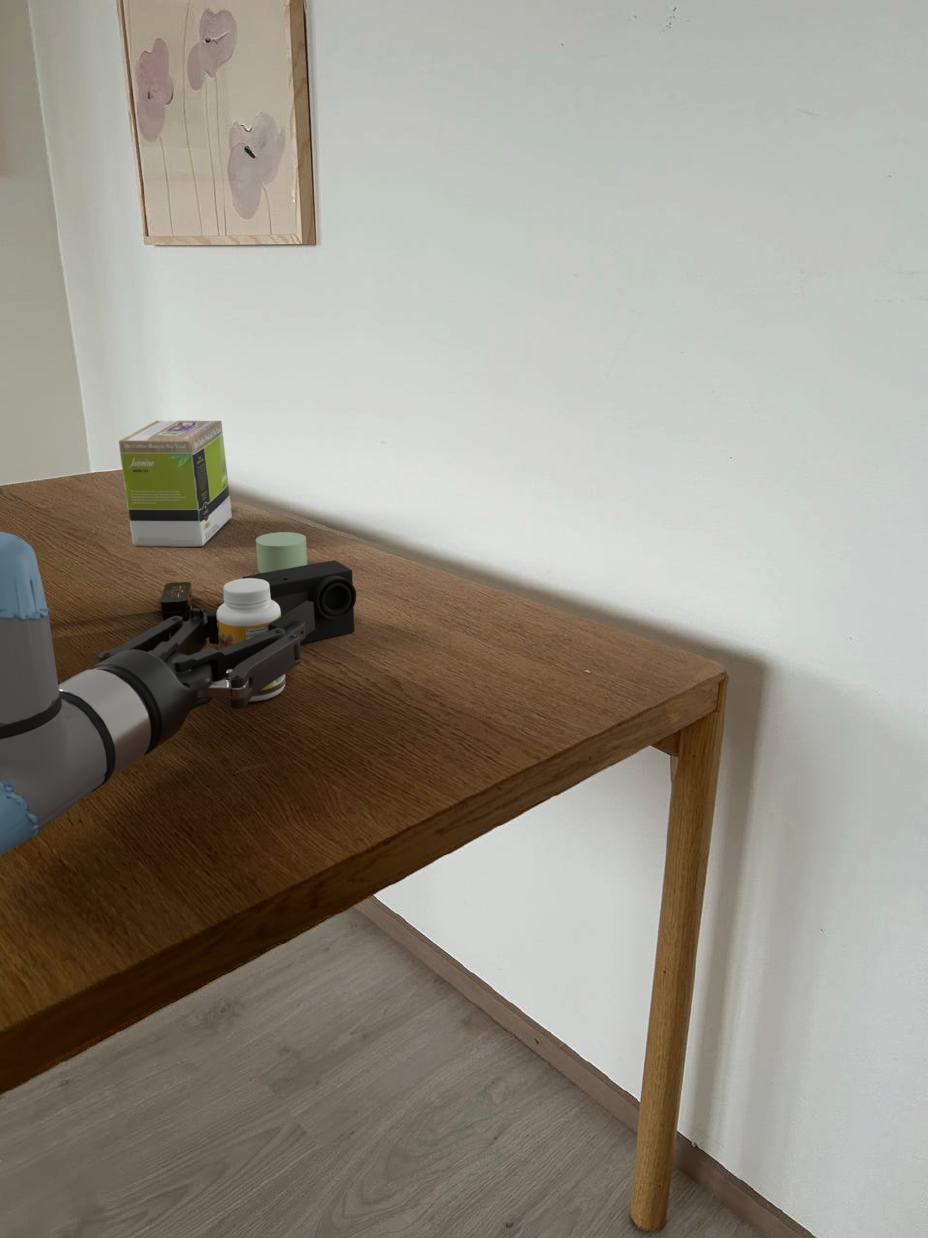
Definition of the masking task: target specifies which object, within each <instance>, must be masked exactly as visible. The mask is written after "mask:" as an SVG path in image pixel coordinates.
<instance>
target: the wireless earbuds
mask: <svg viewBox="0 0 928 1238" xmlns="http://www.w3.org/2000/svg"><path fill="white" fill-rule="evenodd" d="M193 601H194V597H193V589H192V582H190V581H181V582H179V581H178V582H167V583H165V584H164V587H163V590H162V593H161V598H160V600H159V602H160V604H159V605H160V611H161V622H163V621H165V620H167V619H169V618H171V617H173V616H180V617H182V618H183V622H187V621H188V620H189V619H190V610H191V609H194V606H192V605H193ZM206 615H207V614H206V613H204V616H206Z"/></svg>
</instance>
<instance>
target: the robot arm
mask: <svg viewBox="0 0 928 1238" xmlns="http://www.w3.org/2000/svg"><path fill="white" fill-rule="evenodd" d="M217 610H218V608H217V609H215V610H213V611H211V612H210V613H208V614H206V616H204V614H205V613H204V609H203V608H198V607H197V608H196V607H195V608H193V609H191V610H190V619H189V620H188V621H187V622H183V618H182V617H180V616H173V617H171V618H169V619H167V620H165V621H161V622H159V623H158V624H157V625H154V626H153V627H151V628H149V629H148V630H146V631H143V633H140V634H139V635H137V636H135V637H134V638H132V639H130V640H128V641H127V642H125V643H123V644H122V645H120V646H117V647H114V648H113V647H112V648H110V649H108V650H104V651H101V652H99V654H98V660H99V661H98V663H97V664H94V665H93V666H91V667H90V668H88V669H86V670H83V671H81V672H79V673H77V674H75V675H73V676H72V677H70V678H68V679H66V680H64V681H63V682H61V683H59V679H58V673H57V667H56V666H57V665H56V660H55V659H56V658H55V651H54V645H53V638H52V631H51V623H50V614H51V610H50V604H48V602H47V600H46V595H45V591H44V586H43V582H42V577H41V572H40V569H39V565H38V560H37V556H36V553H35V550H34V548H33V547H32V545H30V544H29V543H28V542H27V541H25V540H24V539H23V538H21V537H20V536H17V535H15V534H12V533H9V532H4V531H0V857H1V856H3V855H4V854H6V853H7V852H10V851H11V850H12V849H14V848H16V847H17V846H19V845H20V844H22V843H26V842H29V841H31V840H33V839H34V838H35V837H36V836H37V835H38V834H39V832H41V831H42V830H44V829H45V828H47V826H49V825H50V824H51V823H53V822H54V821H55V820H57V819H58V818H60V817H61V816H62V815H63V814H64V813H66V812H67V811H68V810H69V809H71V808H72V807H73V806H75V805H76V804H77V803H79V802H80V801H81V800H82V799H84V798H85V797H87V796H88V795H89V794H91V793H94V792H96V791H97V790H98V789H99V788H101V787H102V786H104V785H105V784H106V783H108V781H110V780H111V779H113V778H115V777H116V776H117V775H119V774H120V773H122V772H123V771H124V770H126V769H128V768H129V767H131V766H132V765H133V764H135V763H136V762H138V761H139V760H140V759H141V758H142V757H145V756H146V755H149V754H150V753H151V752H153V751H154V750H156V749H157V748H158V747H160V746H162V745H163V744H164V743H165V742H167V741H168V740H170V739H171V738H173V737H174V736H175V735H176V734H177V733H178V732H179V731H180V730H181V728H182V727H183V725H184V723H185V722H186V719H187V717H188V715H189V714H190V712H191V711H192V710H194V709H196V708H199V707H202V706H205V705H208V704H209V703H210V702H212V700H213V699H228V700H229V701H230V707H231V708H232V709H233V708H234V709H242V708H245V707H246V706H247V705H248V704H249V700H250V699H251V697H252V696H253V695H254V694H256V693H257V692H259V691H260V690H261V689H263V688H264V687H266V686H267V685H269V684H270V683H272V682H273V681H275V680H276V679H278V678H279V677H281V676H282V675H284V674H285V675H286V674H287V673H288V672H290V671H291V670H293V669H294V668H296V667H297V666H299V665H301V663H302V657H301V656H302V655H301V644H300V642H301V641H302V640H304V639H305V636H306V635H307V634H309V633H310V632H312V631H313V630H315V622H314V604H313V602H310V601H305V602H304V603H302V604H301V605H299V606H297V607H296V608H294V609H293V610H291V611H289V612H288V613H286V614H285V615H283V616H282V617H280V618H278V619H277V620H275V621H274V622H272V623H270V624H269V631H267V632H265V633H262V634H260V635H257V636H254V637H252V638H249V639H247V640H244V641H241V642H239V643H236V644H234V645H231V646H228V647H226V648H223V649H221V650H220V649H216V648H214V647H207V648H205V649H203V648H204V647H205V646H206V645H207V640H208V642H209V644H210V645H216V646H217V645H219V637H218V626H217Z"/></svg>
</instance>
